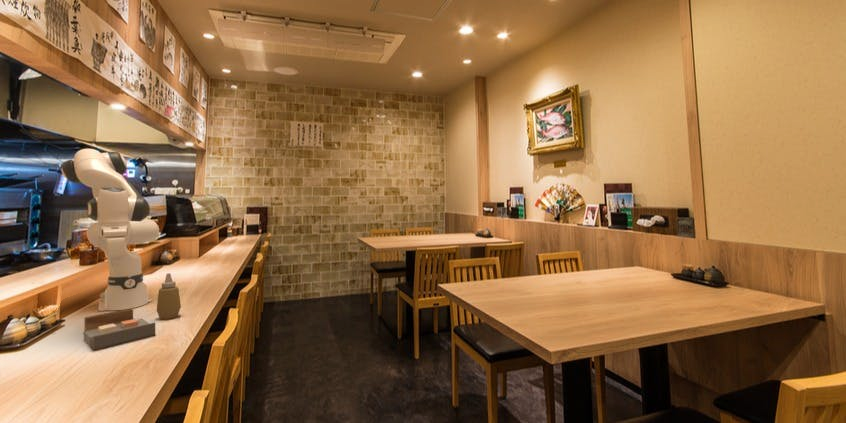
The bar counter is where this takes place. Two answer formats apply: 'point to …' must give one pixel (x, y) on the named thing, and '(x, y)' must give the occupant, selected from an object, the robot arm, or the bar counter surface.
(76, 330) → the bar counter surface
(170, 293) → the squeeze bottle
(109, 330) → the tile cream
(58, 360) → the bar counter surface
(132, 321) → the tile terracotta
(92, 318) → the long wooden plank
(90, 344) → the grey tray with lip
